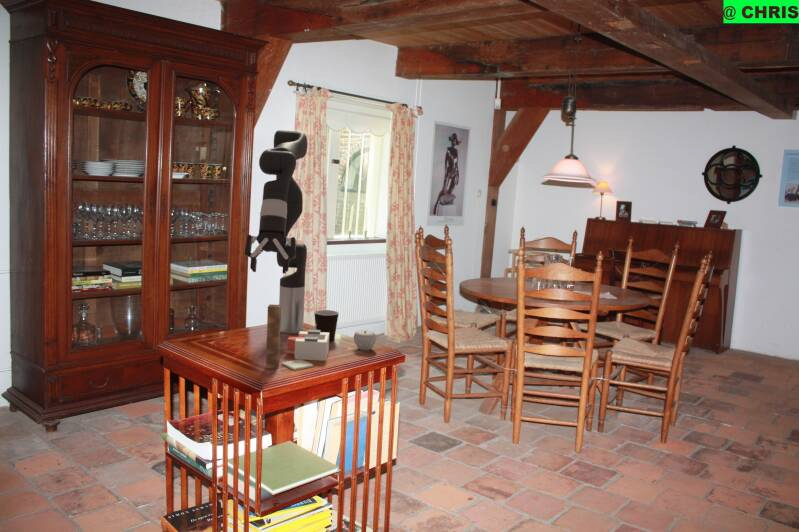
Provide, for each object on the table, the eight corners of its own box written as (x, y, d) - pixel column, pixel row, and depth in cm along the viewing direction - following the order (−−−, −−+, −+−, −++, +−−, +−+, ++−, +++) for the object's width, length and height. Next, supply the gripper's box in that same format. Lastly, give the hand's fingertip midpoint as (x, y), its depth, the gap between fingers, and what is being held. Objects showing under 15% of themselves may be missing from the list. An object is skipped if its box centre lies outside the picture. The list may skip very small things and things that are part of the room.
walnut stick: (265, 368, 197) (267, 306, 195) (267, 364, 201) (269, 304, 198) (277, 368, 198) (279, 307, 195) (279, 365, 201) (281, 305, 198)
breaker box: (294, 359, 208) (295, 338, 207) (299, 348, 221) (299, 328, 220) (325, 360, 209) (326, 340, 208) (328, 349, 222) (329, 330, 221)
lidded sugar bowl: (377, 347, 228) (378, 329, 227) (373, 353, 220) (374, 334, 219) (355, 345, 229) (356, 327, 228) (350, 351, 221) (351, 332, 220)
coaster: (281, 364, 202) (281, 362, 202) (300, 361, 207) (300, 359, 206) (294, 370, 197) (294, 368, 197) (313, 366, 201) (313, 364, 201)
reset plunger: (287, 349, 213) (287, 339, 212) (288, 347, 216) (289, 336, 216) (305, 350, 213) (306, 340, 212) (306, 347, 216) (307, 337, 216)
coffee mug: (333, 343, 229) (334, 316, 228) (310, 341, 231) (311, 313, 230) (342, 336, 241) (343, 309, 239) (320, 333, 242) (321, 307, 241)
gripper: (299, 221, 192) (295, 275, 189) (250, 219, 192) (246, 273, 189) (296, 215, 185) (292, 271, 182) (246, 212, 184) (241, 268, 181)
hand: (269, 272), depth 185 cm, fingers open, 8 cm apart
